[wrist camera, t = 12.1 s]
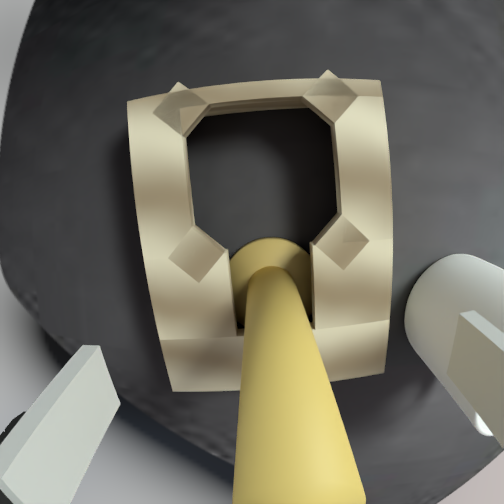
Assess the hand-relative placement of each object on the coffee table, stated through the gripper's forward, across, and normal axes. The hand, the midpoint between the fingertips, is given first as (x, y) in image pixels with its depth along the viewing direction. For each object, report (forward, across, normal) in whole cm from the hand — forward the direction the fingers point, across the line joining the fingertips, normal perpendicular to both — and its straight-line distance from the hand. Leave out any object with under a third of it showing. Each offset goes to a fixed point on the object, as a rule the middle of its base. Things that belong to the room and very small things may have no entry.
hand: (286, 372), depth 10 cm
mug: (+11, +14, -6) cm, 19 cm away
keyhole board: (+11, 0, +2) cm, 11 cm away
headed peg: (+11, 0, -1) cm, 11 cm away
